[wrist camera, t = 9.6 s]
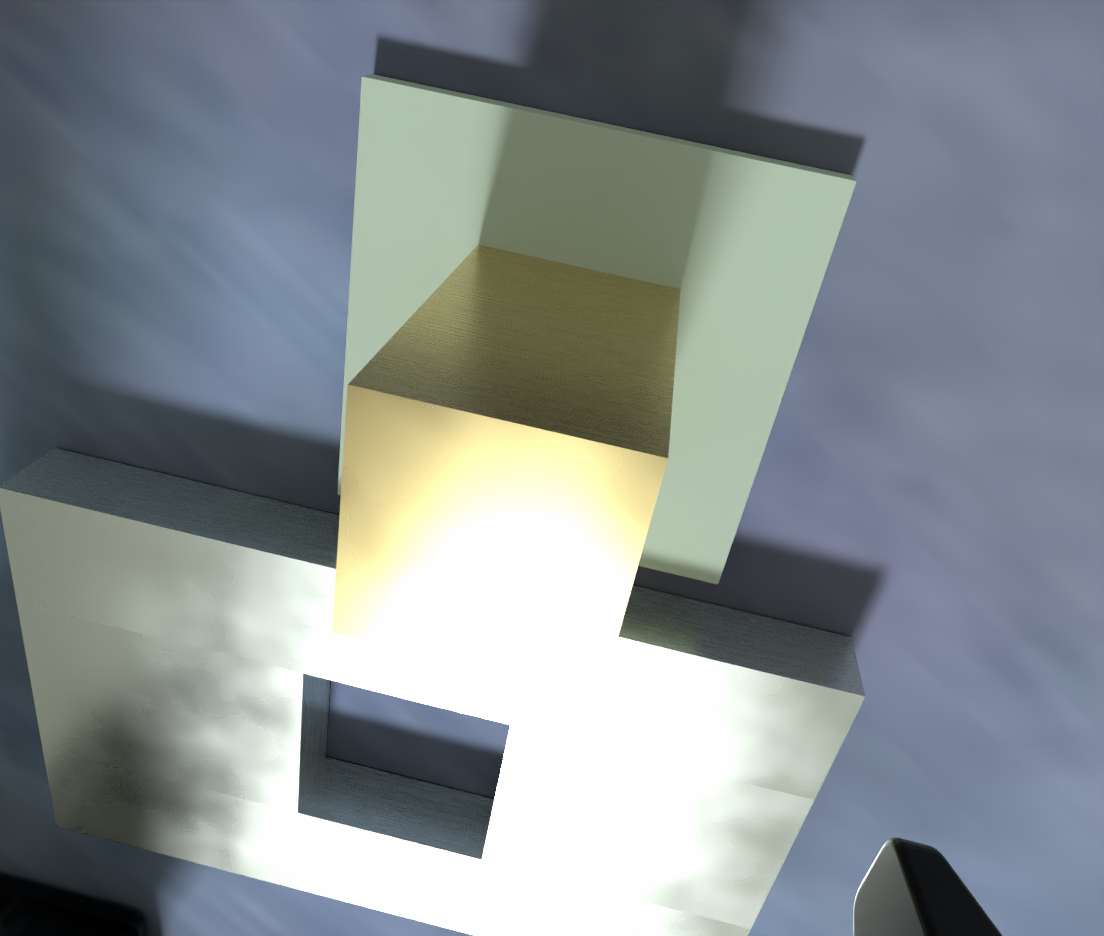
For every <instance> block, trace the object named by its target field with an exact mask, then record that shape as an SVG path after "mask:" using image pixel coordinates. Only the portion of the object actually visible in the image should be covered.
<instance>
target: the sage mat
mask: <svg viewBox="0 0 1104 936" xmlns="http://www.w3.org/2000/svg"><path fill="white" fill-rule="evenodd" d="M855 184H856V180H855V179H854V178H853V177H852V176H851V175H848V174H843V173H838V172H833V171H829V170H824V169H819V168H814V167H810V166H805V165H800V164H796V163H791V162H786V161H781V160H777V159H772V158H767V157H762V156H758V155H753V154H748V153H744V152H739V151H734V150H729V149H725V148H720V147H715V146H710V145H706V144H701V143H696V142H691V141H687V140H682V139H677V138H673V137H668V136H663V135H658V134H654V133H649V132H644V131H639V130H635V129H630V128H625V127H621V126H616V125H611V124H606V123H602V122H597V121H592V120H587V119H583V118H578V117H573V116H568V115H564V114H559V113H554V112H550V111H545V110H540V109H535V108H531V107H526V106H521V105H516V104H512V103H507V102H502V101H498V100H493V99H488V98H483V97H479V96H474V95H469V94H464V93H460V92H455V91H450V90H446V89H441V88H436V87H431V86H427V85H422V84H417V83H412V82H408V81H403V80H398V79H393V78H389V77H384V76H379V75H375V74H372V75H367V76H362V83H361V100H360V117H359V134H358V151H357V168H356V185H355V203H354V220H353V237H352V254H351V271H350V288H349V305H348V322H347V339H346V356H345V373H344V390H343V407H342V424H341V441H340V458H339V475H338V492H337V495H341V484H342V467H343V451H344V435H345V419H346V403H347V387H348V384H349V382H350V381H351V380H352V379H353V378H354V377H355V376H356V375H357V374H358V373H359V372H360V371H361V370H362V369H363V367H364V366H365V365H366V364H367V363H368V362H369V361H370V360H371V359H372V358H373V357H374V356H375V355H376V354H377V352H378V351H379V350H380V349H381V348H382V347H383V346H384V345H385V344H386V343H387V342H388V341H389V340H390V339H391V337H392V336H393V335H394V334H395V333H396V332H397V331H398V330H399V329H400V328H401V327H402V326H403V325H404V323H405V322H406V321H407V320H408V319H409V318H410V317H411V316H412V315H413V314H414V313H415V312H416V311H417V310H418V308H419V307H420V306H421V305H422V304H423V303H424V302H425V301H426V300H427V299H428V298H429V297H430V296H431V295H432V293H433V292H434V291H435V290H436V289H437V288H438V287H439V286H440V285H441V284H442V283H443V282H444V281H445V280H446V278H447V277H448V276H449V275H450V274H451V273H452V272H453V271H454V270H455V269H456V268H457V267H458V266H459V265H460V263H461V262H462V261H463V260H464V259H465V258H466V257H467V256H468V255H469V254H470V253H471V252H472V251H473V249H474V248H475V247H476V246H477V245H482V246H487V247H492V248H496V249H501V250H505V251H510V252H514V253H519V254H523V255H528V256H532V257H537V258H541V259H546V260H550V261H555V262H559V263H564V264H569V265H573V266H578V267H582V268H587V269H591V270H596V271H600V272H605V273H609V274H614V275H618V276H623V277H627V278H632V279H636V280H641V281H645V282H650V283H655V284H659V285H664V286H668V287H673V288H677V289H681V293H680V306H679V320H678V333H677V347H676V361H675V374H674V388H673V401H672V415H671V428H670V442H669V455H668V461H667V465H666V468H665V472H664V475H663V479H662V483H661V486H660V490H659V493H658V497H657V500H656V504H655V507H654V511H653V514H652V518H651V522H650V525H649V529H648V532H647V536H646V539H645V543H644V546H643V550H642V554H641V557H640V561H639V564H638V566H641V567H646V568H650V569H654V570H658V571H662V572H667V573H671V574H675V575H679V576H684V577H688V578H692V579H696V580H701V581H705V582H709V583H713V584H717V585H718V583H719V580H720V577H721V575H722V572H723V569H724V566H725V563H726V560H727V557H728V554H729V551H730V548H731V545H732V542H733V540H734V537H735V534H736V531H737V528H738V525H739V522H740V519H741V516H742V513H743V510H744V508H745V505H746V502H747V499H748V496H749V493H750V490H751V487H752V484H753V481H754V478H755V475H756V473H757V470H758V467H759V464H760V461H761V458H762V455H763V452H764V449H765V446H766V443H767V441H768V438H769V435H770V432H771V429H772V426H773V423H774V420H775V417H776V414H777V411H778V408H779V406H780V403H781V400H782V397H783V394H784V391H785V388H786V385H787V382H788V379H789V376H790V374H791V371H792V368H793V365H794V362H795V359H796V356H797V353H798V350H799V347H800V344H801V341H802V339H803V336H804V333H805V330H806V327H807V324H808V321H809V318H810V315H811V312H812V309H813V307H814V304H815V301H816V298H817V295H818V292H819V289H820V286H821V283H822V280H823V277H824V274H825V272H826V269H827V266H828V263H829V260H830V257H831V254H832V251H833V248H834V245H835V242H836V240H837V237H838V234H839V231H840V228H841V225H842V222H843V219H844V216H845V213H846V210H847V207H848V205H849V202H850V199H851V196H852V193H853V190H854V187H855Z"/></svg>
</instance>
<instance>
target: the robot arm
mask: <svg viewBox="0 0 1104 936" xmlns="http://www.w3.org/2000/svg"><path fill="white" fill-rule="evenodd" d="M853 924H854V936H1002V935H1001V933H1000V932H999V930H998V929H997V928H996V926H995V925H994V924H993V922H992V921H991V920H990V918H989V917H988V916H987V914H986V913H985V912H984V910H983V909H982V907H981V906H980V905H979V903H978V902H977V901H976V899H975V898H974V897H973V895H972V894H971V893H970V891H969V890H968V889H967V887H966V886H965V884H964V883H963V882H962V880H961V879H960V878H959V876H958V875H957V874H956V872H955V871H954V870H953V868H952V867H951V866H950V864H949V863H948V861H947V860H946V859H945V857H944V856H943V855H942V854H941V853H940V852H939V851H938V850H937V849H935V848H933V847H931V846H928V845H925V844H921V843H917V842H913V841H909V840H905V839H901V838H892V839H890V840H888V841H886V843H885V844H884V845H883V847H882V848H881V850H880V852H879V854H878V855H877V857H876V859H875V860H874V862H873V864H872V866H871V867H870V869H869V871H868V873H867V874H866V876H865V878H864V879H863V881H862V883H861V885H860V887H859V889H858V891H857V894H856V897H855V903H854V911H853ZM0 936H147V934H146V924H145V921H144V920H143V919H142V918H141V917H140V916H139V915H137V914H135V913H132V912H129V911H125V910H122V909H118V908H114V907H110V906H106V905H103V904H99V903H95V902H91V901H88V900H84V899H80V898H76V897H72V896H69V895H65V894H61V893H57V892H54V891H50V890H46V889H42V888H38V887H35V886H31V885H27V884H23V883H19V882H16V881H12V880H8V879H4V878H1V877H0Z"/></svg>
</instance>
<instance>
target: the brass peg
mask: <svg viewBox="0 0 1104 936" xmlns="http://www.w3.org/2000/svg"><path fill="white" fill-rule="evenodd" d="M680 293H681V289H677V288H673V287H668V286H664V285H659V284H655V283H650V282H645V281H641V280H636V279H632V278H627V277H623V276H618V275H614V274H609V273H605V272H600V271H596V270H591V269H587V268H582V267H578V266H573V265H569V264H564V263H559V262H555V261H550V260H546V259H541V258H537V257H532V256H528V255H523V254H519V253H514V252H510V251H505V250H501V249H496V248H492V247H487V246H482V245H477V246H476V247H475V248H474V249H473V251H472V252H471V253H470V254H469V255H468V256H467V257H466V258H465V259H464V260H463V261H462V262H461V263H460V265H459V266H458V267H457V268H456V269H455V270H454V271H453V272H452V273H451V274H450V275H449V276H448V277H447V278H446V280H445V281H444V282H443V283H442V284H441V285H440V286H439V287H438V288H437V289H436V290H435V291H434V292H433V293H432V295H431V296H430V297H429V298H428V299H427V300H426V301H425V302H424V303H423V304H422V305H421V306H420V307H419V308H418V310H417V311H416V312H415V313H414V314H413V315H412V316H411V317H410V318H409V319H408V320H407V321H406V322H405V323H404V325H403V326H402V327H401V328H400V329H399V330H398V331H397V332H396V333H395V334H394V335H393V336H392V337H391V339H390V340H389V341H388V342H387V343H386V344H385V345H384V346H383V347H382V348H381V349H380V350H379V351H378V352H377V354H376V355H375V356H374V357H373V358H372V359H371V360H370V361H369V362H368V363H367V364H366V365H365V366H364V367H363V369H362V370H361V371H360V372H359V373H358V374H357V375H356V376H355V377H354V378H353V379H352V380H351V381H350V382H349V384H348V387H347V403H346V419H345V435H344V451H343V467H342V484H341V500H340V516H339V532H338V548H337V564H336V580H335V597H334V613H333V629H332V632H333V633H337V634H341V635H345V636H349V637H353V638H357V639H362V640H366V641H370V642H374V643H378V644H382V645H386V646H390V647H394V648H398V649H402V650H406V651H410V652H415V653H419V654H423V655H427V656H431V657H435V658H439V659H443V660H447V661H451V662H455V663H459V664H463V665H468V666H472V667H476V668H480V669H484V670H488V671H492V672H496V673H500V674H504V675H508V676H512V677H516V678H521V679H525V680H529V681H533V682H537V683H541V684H545V685H549V686H553V687H557V688H561V689H565V690H569V691H574V692H578V693H582V694H586V695H590V696H594V697H598V698H601V696H602V692H603V689H604V685H605V682H606V678H607V674H608V671H609V667H610V664H611V660H612V657H613V653H614V650H615V646H616V642H617V639H618V635H619V632H620V628H621V625H622V621H623V618H624V614H625V610H626V607H627V603H628V600H629V596H630V593H631V589H632V586H633V582H634V578H635V575H636V571H637V568H638V564H639V561H640V557H641V554H642V550H643V546H644V543H645V539H646V536H647V532H648V529H649V525H650V522H651V518H652V514H653V511H654V507H655V504H656V500H657V497H658V493H659V490H660V486H661V483H662V479H663V475H664V472H665V468H666V465H667V461H668V455H669V442H670V428H671V415H672V401H673V388H674V374H675V361H676V347H677V333H678V320H679V306H680Z"/></svg>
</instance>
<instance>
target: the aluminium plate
mask: <svg viewBox="0 0 1104 936" xmlns="http://www.w3.org/2000/svg"><path fill="white" fill-rule="evenodd" d="M0 511H1V516H2V522H3V528H4V533H5V539H6V545H7V550H8V556H9V562H10V567H11V573H12V579H13V584H14V590H15V596H16V601H17V607H18V613H19V618H20V624H21V630H22V635H23V641H24V647H25V652H26V658H27V664H28V669H29V675H30V681H31V687H32V692H33V698H34V704H35V709H36V715H37V721H38V726H39V732H40V738H41V743H42V749H43V755H44V760H45V766H46V772H47V777H48V783H49V789H50V794H51V800H52V806H53V811H54V817H55V823H56V827H60V828H64V829H68V830H71V831H75V832H79V833H83V834H87V835H91V836H95V837H98V838H102V839H106V840H110V841H114V842H118V843H121V844H125V845H129V846H133V847H137V848H141V849H144V850H148V851H152V852H156V853H160V854H164V855H167V856H171V857H175V858H179V859H183V860H187V861H191V862H194V863H198V864H202V865H206V866H210V867H214V868H217V869H221V870H225V871H229V872H233V873H237V874H240V875H244V876H248V877H252V878H256V879H260V880H263V881H267V882H271V883H275V884H279V885H283V886H287V887H290V888H294V889H298V890H302V891H306V892H310V893H313V894H317V895H321V896H325V897H329V898H333V899H336V900H340V901H344V902H348V903H352V904H356V905H359V906H363V907H367V908H371V909H375V910H379V911H383V912H386V913H390V914H394V915H398V916H402V917H406V918H409V919H413V920H417V921H421V922H425V923H429V924H432V925H436V926H440V927H444V928H448V929H452V930H455V931H459V932H463V933H467V934H471V935H475V936H748V934H749V932H750V930H751V928H752V926H753V924H754V922H755V919H756V917H757V915H758V913H759V911H760V909H761V907H762V905H763V903H764V901H765V899H766V897H767V895H768V893H769V891H770V889H771V887H772V885H773V883H774V881H775V879H776V877H777V875H778V873H779V871H780V869H781V867H782V865H783V863H784V861H785V859H786V857H787V855H788V852H789V850H790V848H791V846H792V844H793V842H794V840H795V838H796V836H797V834H798V832H799V830H800V828H801V826H802V824H803V822H804V820H805V818H806V816H807V814H808V812H809V810H810V808H811V806H812V804H813V802H814V800H815V798H816V796H817V794H818V792H819V790H820V788H821V785H822V783H823V781H824V779H825V777H826V775H827V773H828V771H829V769H830V767H831V765H832V763H833V761H834V759H835V757H836V755H837V753H838V751H839V749H840V747H841V745H842V743H843V741H844V739H845V737H846V735H847V733H848V731H849V729H850V727H851V725H852V723H853V721H854V718H855V716H856V714H857V712H858V710H859V708H860V706H861V704H862V702H863V700H864V698H865V693H864V689H863V685H862V680H861V676H860V672H859V668H858V664H857V659H856V655H855V651H854V647H853V642H852V638H851V637H849V636H845V635H840V634H836V633H832V632H828V631H823V630H819V629H815V628H811V627H807V626H802V625H798V624H794V623H790V622H786V621H781V620H777V619H773V618H769V617H765V616H760V615H756V614H752V613H748V612H744V611H739V610H735V609H731V608H727V607H723V606H718V605H714V604H710V603H706V602H702V601H697V600H693V599H689V598H685V597H680V596H676V595H672V594H668V593H664V592H659V591H655V590H651V589H647V588H643V587H638V586H634V585H633V586H632V589H631V593H630V596H629V600H628V603H627V607H626V610H625V614H624V618H623V621H622V625H621V628H620V632H619V635H618V639H617V642H616V646H615V650H614V653H613V657H612V660H611V664H610V667H609V671H608V674H607V678H606V682H605V685H604V689H603V692H602V696H601V698H598V697H594V696H590V695H586V694H582V693H578V692H574V691H569V690H565V689H561V688H557V687H553V686H549V685H545V684H541V683H537V682H533V681H529V680H525V679H521V678H516V677H512V676H508V675H504V674H500V673H496V672H492V671H488V670H484V669H480V668H476V667H472V666H468V665H463V664H459V663H455V662H451V661H447V660H443V659H439V658H435V657H431V656H427V655H423V654H419V653H415V652H410V651H406V650H402V649H398V648H394V647H390V646H386V645H382V644H378V643H374V642H370V641H366V640H362V639H357V638H353V637H349V636H345V635H341V634H337V633H333V632H332V629H333V613H334V597H335V580H336V564H337V548H338V532H339V516H340V515H336V514H331V513H327V512H323V511H319V510H315V509H310V508H306V507H302V506H298V505H294V504H289V503H285V502H281V501H277V500H273V499H268V498H264V497H260V496H256V495H251V494H247V493H243V492H239V491H235V490H230V489H226V488H222V487H218V486H214V485H209V484H205V483H201V482H197V481H193V480H188V479H184V478H180V477H176V476H172V475H167V474H163V473H159V472H155V471H151V470H146V469H142V468H138V467H134V466H130V465H125V464H121V463H117V462H113V461H108V460H104V459H100V458H96V457H92V456H87V455H83V454H79V453H75V452H71V451H66V450H62V449H58V448H53V449H51V450H50V451H49V452H47V453H46V454H44V455H43V456H41V457H40V458H38V459H37V460H35V461H34V462H32V463H31V464H30V465H28V466H27V467H25V468H24V469H22V470H21V471H19V472H18V473H16V474H15V475H13V476H12V477H11V478H9V479H8V480H6V481H5V482H3V483H2V484H0ZM330 680H331V681H335V682H339V683H343V684H347V685H351V686H355V687H360V688H364V689H368V690H372V691H376V692H380V693H384V694H388V695H392V696H396V697H400V698H404V699H408V700H412V701H416V702H420V703H424V704H428V705H432V706H436V707H440V708H444V709H448V710H452V711H456V712H460V713H465V714H469V715H473V716H477V717H481V718H485V719H489V720H493V721H497V722H501V723H505V724H509V725H510V729H509V734H508V739H507V744H506V748H505V753H504V758H503V762H502V767H501V772H500V777H499V781H498V786H497V791H496V795H495V800H494V799H490V798H486V797H483V796H479V795H475V794H471V793H467V792H463V791H459V790H455V789H451V788H447V787H443V786H439V785H435V784H431V783H427V782H423V781H419V780H415V779H411V778H407V777H403V776H399V775H395V774H391V773H387V772H383V771H379V770H375V769H371V768H368V767H364V766H360V765H356V764H352V763H348V762H344V761H340V760H336V759H332V758H328V757H326V743H327V726H328V710H329V694H330Z"/></svg>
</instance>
